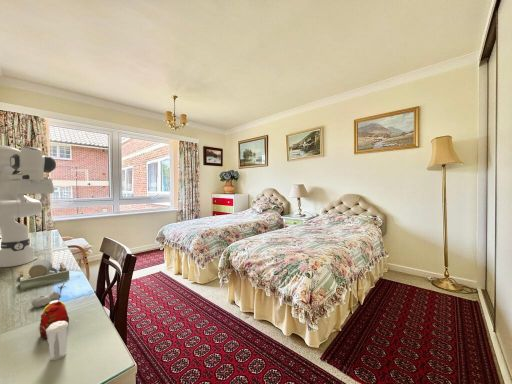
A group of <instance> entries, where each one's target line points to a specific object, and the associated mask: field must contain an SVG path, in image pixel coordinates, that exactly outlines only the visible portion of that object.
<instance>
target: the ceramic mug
mask: <svg viewBox="0 0 512 384" xmlns="http://www.w3.org/2000/svg"><path fill="white" fill-rule="evenodd" d="M58 272H59V270H58V269H57V268H55V267H53V264H52V262H51V261H50V260H48V259H40V260H37V261H36V262H35V263H34V264H33V265H32V266H30V267H29V270H28V276H29V277H30V278H35V277H40V276H44V275H49V274H54V273H58Z"/></svg>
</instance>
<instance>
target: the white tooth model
mask: <svg viewBox="0 0 512 384" xmlns="http://www.w3.org/2000/svg"><path fill="white" fill-rule="evenodd" d="M43 328H44V327H43ZM44 329H45V328H44ZM68 330H69V325H68V322H66V321H57V322H55V323H52V324H51V325H50V326H49V327H48V328H47V329H45V331H46V335H47V339H46V340H47V344H48V353H49V359H50V361H54V362H55V361H58V360H61V358H65V356H66V354H67V345H68Z"/></svg>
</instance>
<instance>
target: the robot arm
mask: <svg viewBox="0 0 512 384" xmlns="http://www.w3.org/2000/svg"><path fill="white" fill-rule="evenodd" d="M56 166H57V162H56V160H55V159H54V158H53V157H52V156H50V155H44V154H43V151H42V149H41V148H39V147H35V146H34V147H32V146H22V147H20V149H17V148H15V147H12V146H10V145H1V144H0V234H1V242H0V268H8V267H16V266H20V265H21V266H22V265H25V264H28V263H31V262H33V261H36V260H38V257H37V256H35V255H34V252H35V251H34V247H33V246H32V245H30V243H31V241H30V240H31V239H30V237H29V227H28V226H27V225H26V224H24V223H21V222H16V219H17V218H26V217H27V218H29V217H32V216H37V215H39V214H41V213H42V211H43V204H42V203H44V202H46V198H47V197H48V194H53V193H54V192H55V188H54V183H53V180H52V179H51V178H50V177H48V176H47V177H45V176H44V173H48V174H50V173H51V172H53V171H54V170H56ZM37 194H39V195H41V197H40V198H39V200H38V199H34V198H32V197H29V196H27V195H37Z"/></svg>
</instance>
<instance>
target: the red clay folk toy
mask: <svg viewBox="0 0 512 384" xmlns="http://www.w3.org/2000/svg"><path fill="white" fill-rule="evenodd" d="M65 284H66V283H65V282H63V283H62V285H60V287H59V286H58V287H57V288H58V289H59V295H58V296H59V299H58V302H54V303H52V304H51V305H50V306H48V307H47V308H46V309H45V312H44V313H43V312H42V314H40V323H39V334H40V337H41V338H43V339H45V340H47V335H46V331H45V329H47V328H48V327H49V326H50V325H51V324H52V323H55V322H57V321H66V322H68V326H69V324H70V317H69V316H68V312H67V311H68V310H67V309H65V307H66V306H65V307H64V305H62V303H61V302H62V301H60V298H62V295H61V294H62V290H63V288H66V285H65ZM59 301H60V302H59ZM43 327H44V328H45V329H44V328H43Z"/></svg>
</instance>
